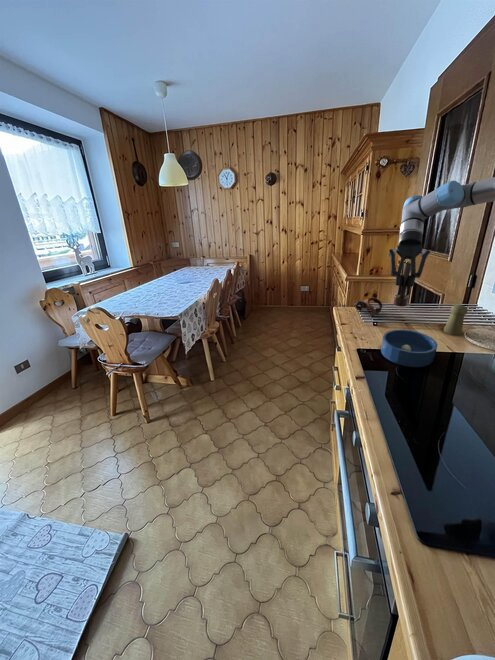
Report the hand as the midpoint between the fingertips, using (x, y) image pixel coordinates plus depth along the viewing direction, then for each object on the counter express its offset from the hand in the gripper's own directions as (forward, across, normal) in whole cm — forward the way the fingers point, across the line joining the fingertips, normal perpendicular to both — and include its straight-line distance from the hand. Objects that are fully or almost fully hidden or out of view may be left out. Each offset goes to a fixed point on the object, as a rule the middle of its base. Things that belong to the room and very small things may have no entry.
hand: (403, 293), depth 98 cm
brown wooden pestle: (+1, 0, -7) cm, 7 cm away
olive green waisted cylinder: (+2, -21, -26) cm, 34 cm away
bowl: (+19, -4, -10) cm, 21 cm away
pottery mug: (-5, +11, -33) cm, 36 cm away
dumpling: (+17, -4, -8) cm, 19 cm away
